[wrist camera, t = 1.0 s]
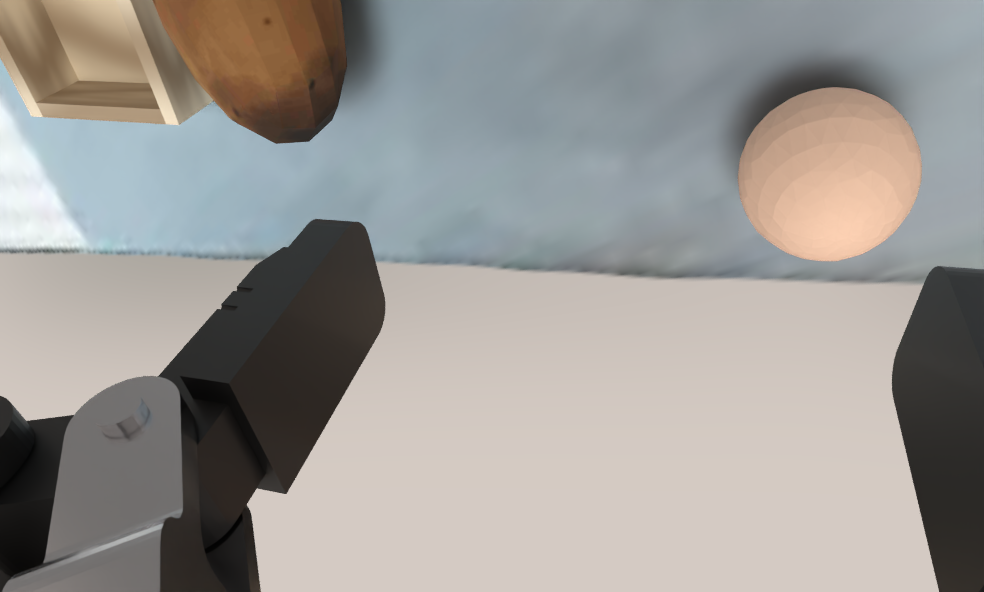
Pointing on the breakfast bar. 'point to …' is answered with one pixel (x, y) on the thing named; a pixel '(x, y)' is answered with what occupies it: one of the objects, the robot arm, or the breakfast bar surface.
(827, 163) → the egg
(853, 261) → the breakfast bar surface
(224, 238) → the breakfast bar surface
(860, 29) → the breakfast bar surface
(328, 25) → the potato
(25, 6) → the wooden tray
